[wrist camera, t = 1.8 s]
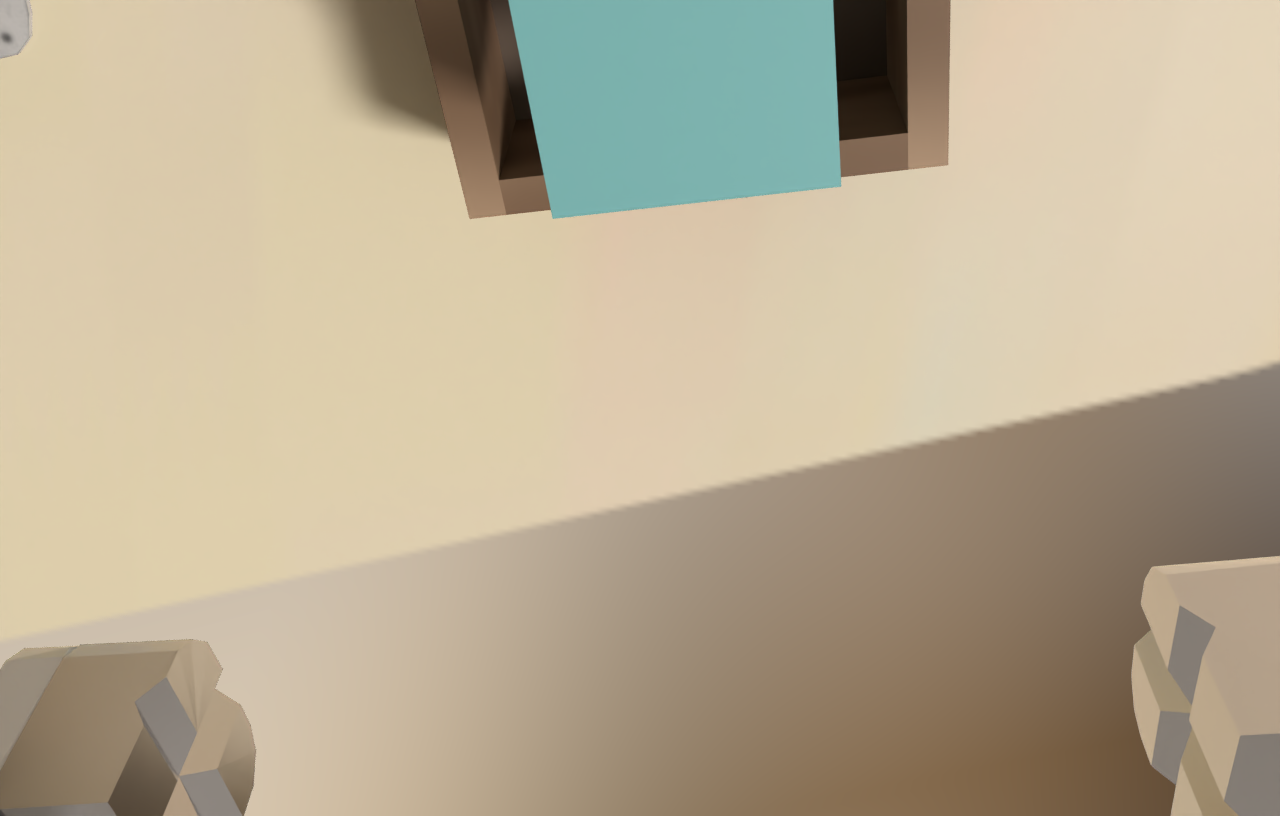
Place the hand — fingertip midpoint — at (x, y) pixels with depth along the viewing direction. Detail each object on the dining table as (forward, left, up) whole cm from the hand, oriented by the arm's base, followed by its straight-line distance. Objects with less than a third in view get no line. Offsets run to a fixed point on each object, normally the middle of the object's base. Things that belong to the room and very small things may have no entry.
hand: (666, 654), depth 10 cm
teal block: (0, 0, -16) cm, 16 cm away
